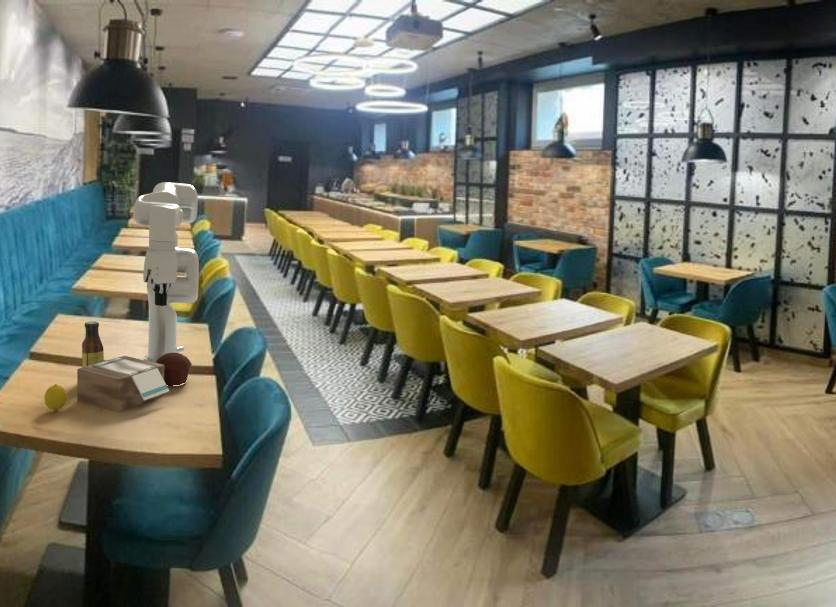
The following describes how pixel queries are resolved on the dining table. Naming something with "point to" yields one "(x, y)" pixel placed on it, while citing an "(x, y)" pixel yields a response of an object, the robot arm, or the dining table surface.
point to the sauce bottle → (92, 345)
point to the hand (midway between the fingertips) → (160, 305)
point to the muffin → (175, 368)
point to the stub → (150, 384)
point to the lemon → (55, 397)
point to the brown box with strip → (113, 383)
